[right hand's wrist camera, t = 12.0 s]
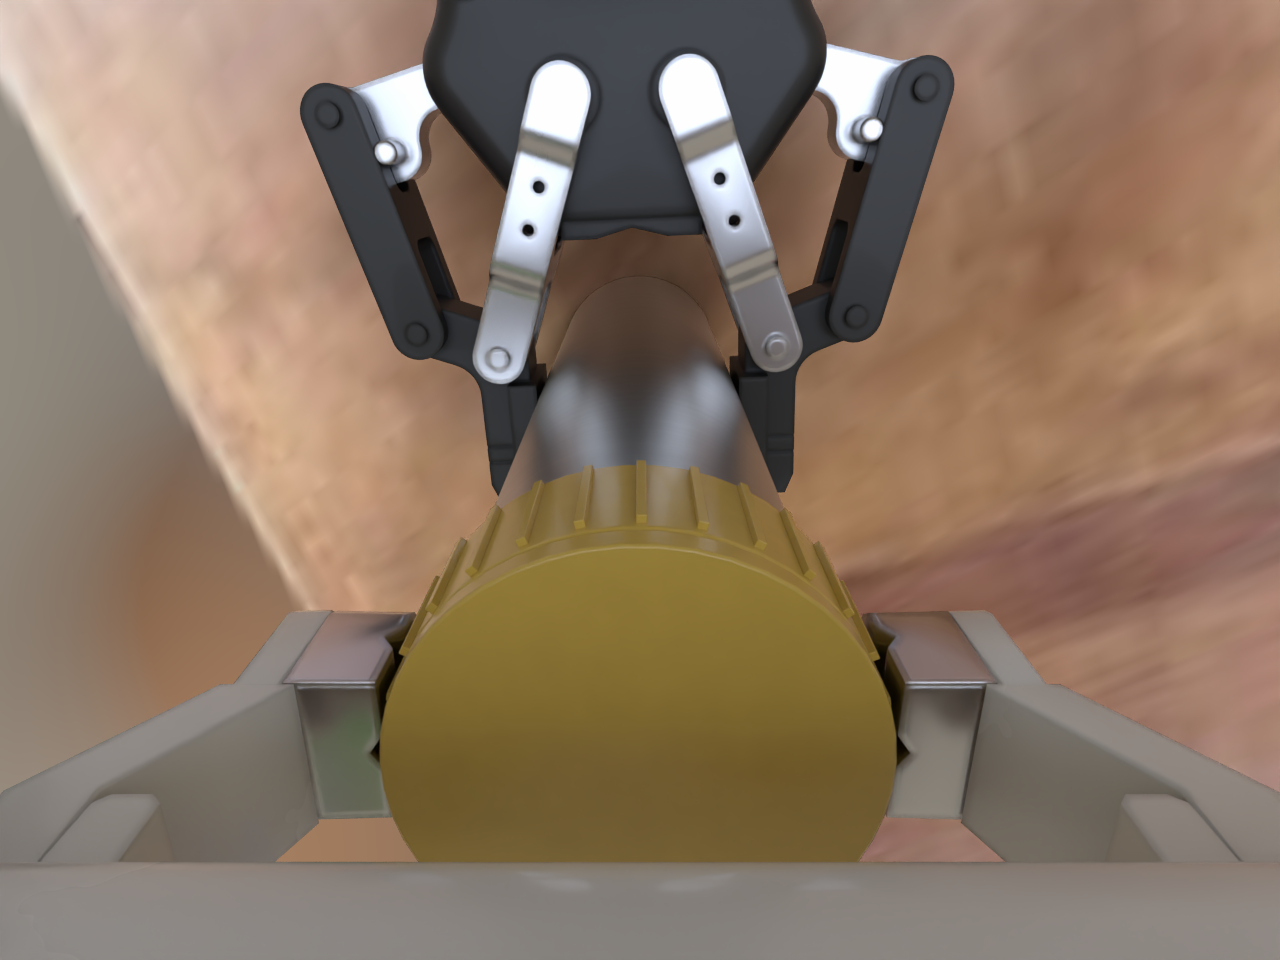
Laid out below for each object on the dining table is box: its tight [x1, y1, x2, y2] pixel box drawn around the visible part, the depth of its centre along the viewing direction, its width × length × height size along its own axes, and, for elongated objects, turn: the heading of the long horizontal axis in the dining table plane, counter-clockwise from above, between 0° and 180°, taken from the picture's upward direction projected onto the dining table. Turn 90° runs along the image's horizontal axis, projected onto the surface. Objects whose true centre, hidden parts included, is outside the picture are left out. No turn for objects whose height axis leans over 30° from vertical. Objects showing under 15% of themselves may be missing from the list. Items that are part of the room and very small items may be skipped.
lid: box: [380, 460, 897, 862], centre depth 9 cm, size 5×5×2 cm
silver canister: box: [495, 276, 784, 512], centre depth 18 cm, size 5×5×19 cm
